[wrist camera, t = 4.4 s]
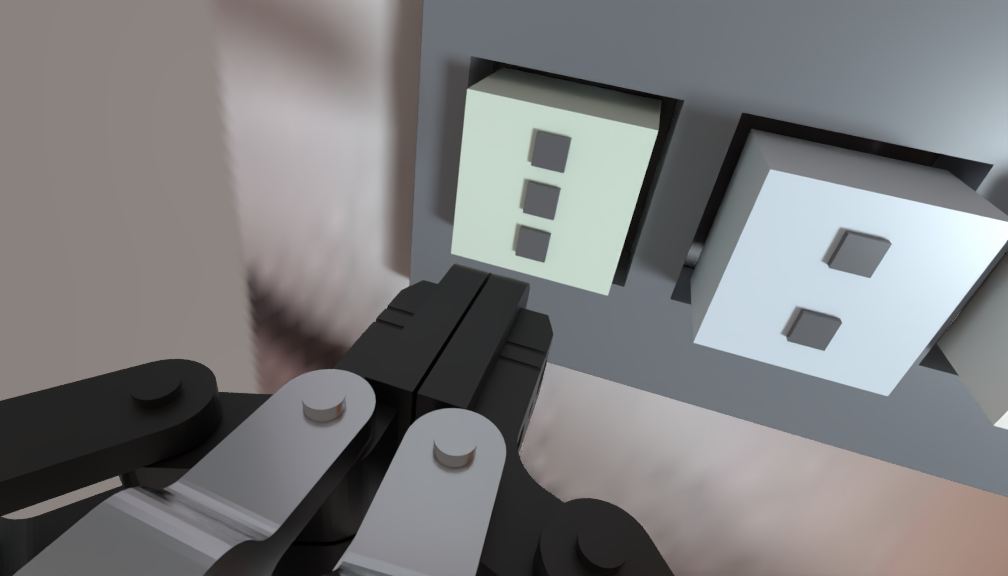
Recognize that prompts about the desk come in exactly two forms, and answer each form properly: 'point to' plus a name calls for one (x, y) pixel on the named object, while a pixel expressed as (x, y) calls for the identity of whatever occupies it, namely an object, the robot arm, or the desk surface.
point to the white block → (551, 176)
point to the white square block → (983, 345)
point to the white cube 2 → (838, 260)
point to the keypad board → (695, 167)
